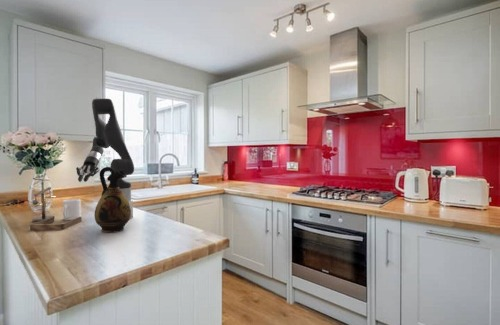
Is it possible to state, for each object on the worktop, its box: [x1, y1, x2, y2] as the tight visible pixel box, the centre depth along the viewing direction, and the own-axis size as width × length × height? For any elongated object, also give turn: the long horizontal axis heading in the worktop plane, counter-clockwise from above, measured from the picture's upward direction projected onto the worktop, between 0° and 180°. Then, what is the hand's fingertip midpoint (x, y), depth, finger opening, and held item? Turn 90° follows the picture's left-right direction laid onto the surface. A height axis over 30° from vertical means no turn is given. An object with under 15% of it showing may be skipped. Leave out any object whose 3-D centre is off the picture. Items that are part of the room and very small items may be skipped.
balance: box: [28, 186, 57, 223], centre depth 143 cm, size 6×16×17 cm, turn 3°
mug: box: [61, 198, 82, 221], centre depth 144 cm, size 12×8×10 cm
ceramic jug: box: [94, 166, 131, 234], centre depth 124 cm, size 17×15×30 cm
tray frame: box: [29, 216, 82, 231], centre depth 132 cm, size 15×15×2 cm
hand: (82, 180), depth 155 cm, fingers open, 2 cm apart
